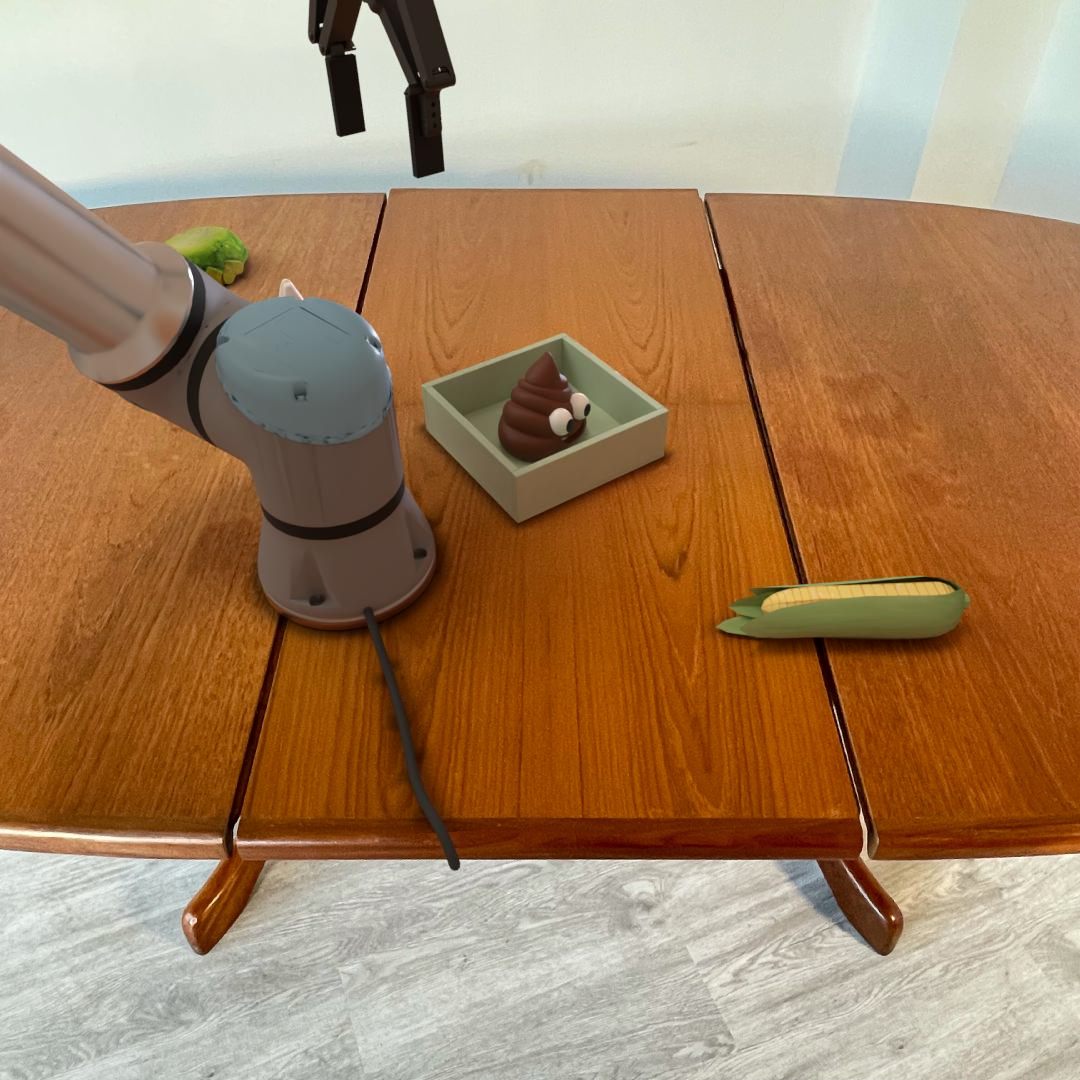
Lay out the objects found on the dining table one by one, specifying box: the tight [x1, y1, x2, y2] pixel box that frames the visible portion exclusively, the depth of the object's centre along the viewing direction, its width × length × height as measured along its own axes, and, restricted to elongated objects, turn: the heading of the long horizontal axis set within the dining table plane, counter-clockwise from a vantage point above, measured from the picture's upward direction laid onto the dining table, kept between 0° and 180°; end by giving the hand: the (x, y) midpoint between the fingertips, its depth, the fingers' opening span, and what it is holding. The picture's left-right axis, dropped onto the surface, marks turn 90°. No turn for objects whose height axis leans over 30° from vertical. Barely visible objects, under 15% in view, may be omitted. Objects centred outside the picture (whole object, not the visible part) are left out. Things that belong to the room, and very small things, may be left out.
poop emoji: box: [498, 352, 591, 461], centre depth 87 cm, size 10×8×9 cm
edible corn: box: [715, 575, 971, 640], centre depth 71 cm, size 5×20×5 cm, turn 92°
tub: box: [420, 332, 670, 524], centre depth 88 cm, size 18×18×6 cm
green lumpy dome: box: [163, 225, 249, 286], centre depth 116 cm, size 12×11×5 cm
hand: (388, 153), depth 79 cm, fingers open, 13 cm apart
